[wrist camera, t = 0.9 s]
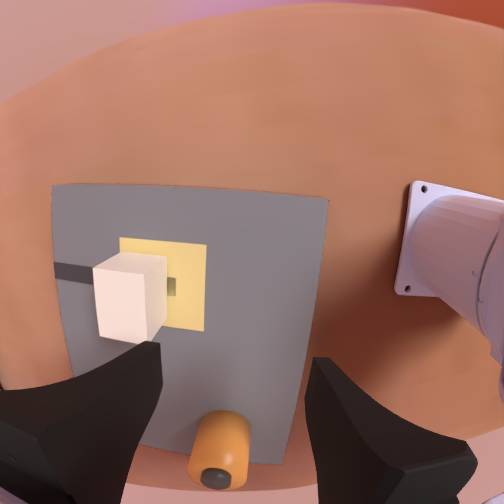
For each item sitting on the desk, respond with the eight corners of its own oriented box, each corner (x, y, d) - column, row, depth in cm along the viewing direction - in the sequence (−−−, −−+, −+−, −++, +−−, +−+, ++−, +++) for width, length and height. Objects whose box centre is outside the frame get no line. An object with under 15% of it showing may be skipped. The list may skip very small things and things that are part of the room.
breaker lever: (166, 256, 18) (144, 274, 15) (167, 317, 19) (147, 345, 16) (121, 251, 18) (92, 267, 15) (124, 311, 19) (99, 336, 16)
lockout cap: (253, 412, 21) (248, 470, 16) (249, 445, 22) (244, 499, 17) (199, 406, 21) (183, 461, 16) (200, 439, 22) (187, 491, 17)
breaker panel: (321, 197, 20) (333, 201, 16) (281, 445, 25) (281, 474, 21) (71, 183, 20) (41, 186, 17) (99, 414, 26) (84, 437, 22)
